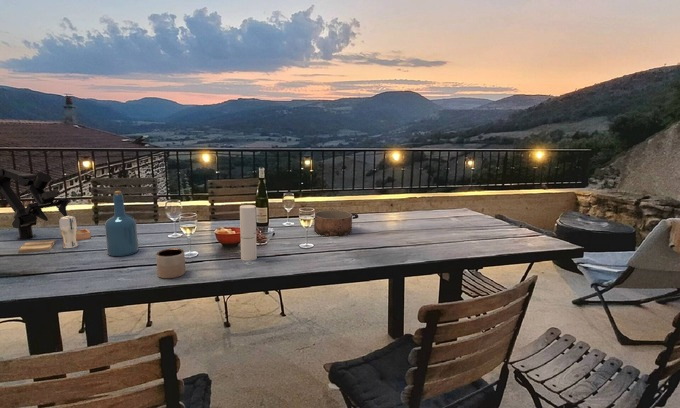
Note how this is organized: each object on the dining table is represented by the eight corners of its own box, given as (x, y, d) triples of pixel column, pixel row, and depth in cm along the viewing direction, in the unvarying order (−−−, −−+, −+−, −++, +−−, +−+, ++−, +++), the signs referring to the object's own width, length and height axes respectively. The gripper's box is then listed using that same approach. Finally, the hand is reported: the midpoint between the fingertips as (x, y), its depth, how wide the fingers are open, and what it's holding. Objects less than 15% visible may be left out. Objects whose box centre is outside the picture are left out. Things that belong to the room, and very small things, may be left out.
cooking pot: (308, 237, 222) (308, 218, 220) (307, 227, 244) (307, 210, 242) (360, 236, 225) (361, 218, 223) (355, 226, 247) (355, 210, 245)
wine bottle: (125, 258, 181) (119, 194, 175) (100, 255, 184) (94, 192, 178) (145, 249, 194) (140, 189, 188) (122, 247, 197) (116, 188, 191)
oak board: (26, 244, 197) (25, 242, 197) (55, 242, 202) (54, 239, 202) (18, 253, 185) (18, 250, 184) (49, 250, 190) (49, 247, 190)
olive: (76, 236, 210) (75, 230, 210) (83, 235, 212) (82, 230, 211) (75, 237, 208) (74, 232, 207) (82, 237, 209) (81, 231, 209)
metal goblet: (70, 249, 192) (66, 219, 189) (58, 248, 193) (54, 218, 190) (82, 245, 199) (79, 216, 196) (70, 243, 200) (67, 215, 197)
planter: (162, 269, 169) (161, 248, 167) (188, 269, 170) (187, 248, 168) (153, 279, 158) (151, 256, 156) (181, 279, 159) (179, 256, 157)
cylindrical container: (259, 257, 187) (258, 205, 182) (251, 261, 181) (250, 208, 176) (246, 255, 189) (245, 204, 184) (238, 259, 183) (236, 207, 178)
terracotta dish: (68, 237, 210) (67, 231, 210) (87, 234, 216) (87, 228, 215) (70, 241, 204) (69, 235, 203) (90, 238, 210) (90, 232, 209)
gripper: (25, 187, 186) (43, 212, 185) (65, 182, 203) (81, 205, 201) (17, 201, 191) (34, 226, 189) (57, 195, 208) (73, 218, 206)
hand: (57, 218), depth 196 cm, fingers open, 9 cm apart
